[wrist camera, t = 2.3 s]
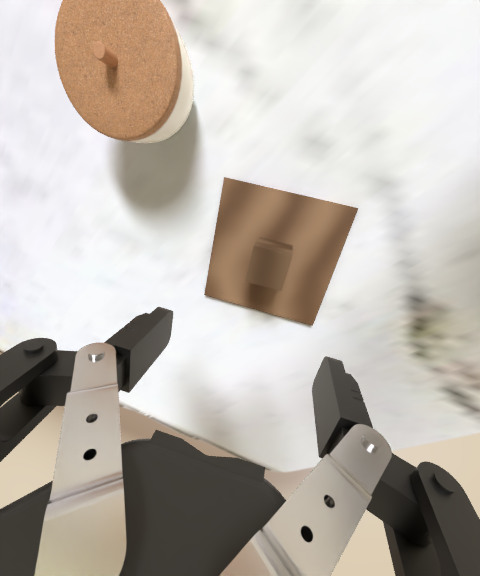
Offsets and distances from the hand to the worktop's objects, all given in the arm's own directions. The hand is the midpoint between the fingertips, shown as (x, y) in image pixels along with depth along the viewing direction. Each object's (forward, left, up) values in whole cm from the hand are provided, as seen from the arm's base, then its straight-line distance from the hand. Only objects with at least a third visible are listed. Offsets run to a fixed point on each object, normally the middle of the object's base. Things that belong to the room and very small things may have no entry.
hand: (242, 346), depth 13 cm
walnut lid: (0, 0, -20) cm, 20 cm away
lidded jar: (+16, -14, -20) cm, 29 cm away
